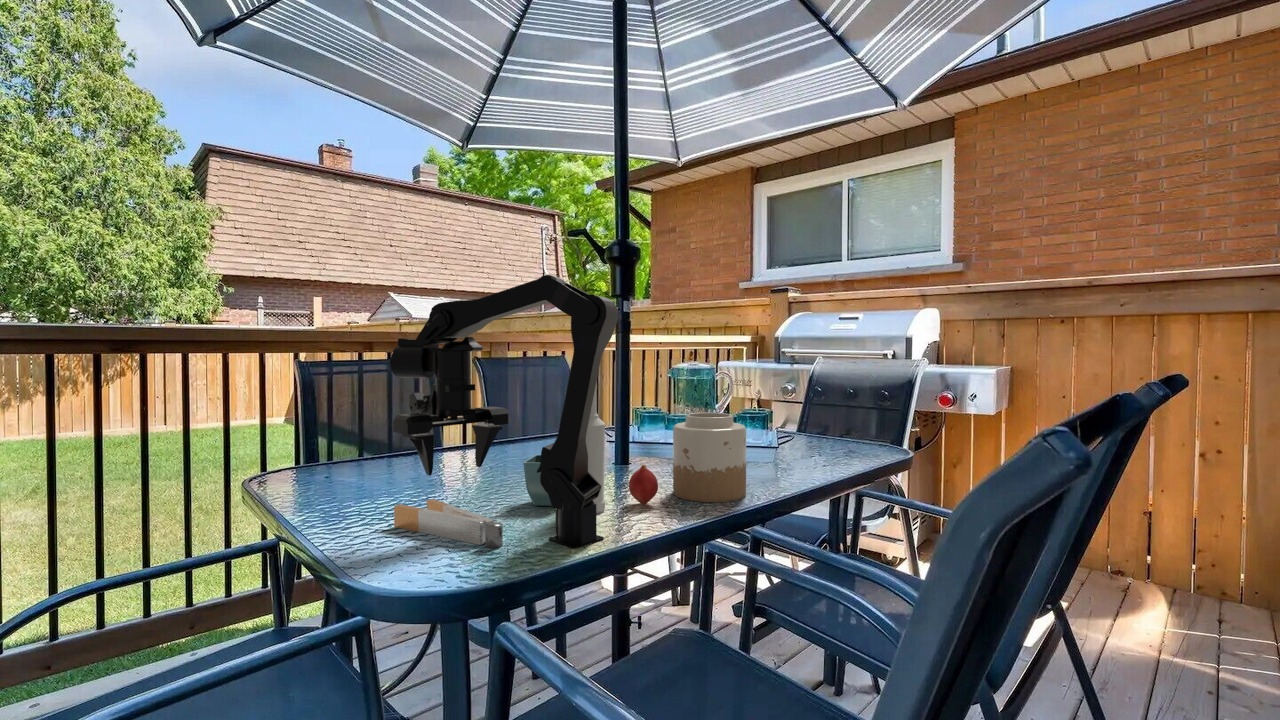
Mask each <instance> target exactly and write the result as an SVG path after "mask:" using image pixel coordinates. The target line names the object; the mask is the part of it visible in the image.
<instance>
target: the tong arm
mask: <svg viewBox="0 0 1280 720" xmlns="http://www.w3.org/2000/svg"><path fill="white" fill-rule="evenodd" d="M393 512H394V514H393V517H394V518H393V519H394V523H393V524H394V525H393V526H394V528H398V529H399V528H400V529H403V530H408V531H413V532H419V533H422V534H428V535H432V536H438V537H441V538H446V539H449V540H450V539H452V540H455V541H459V542H465V543H469V544H473V545H479V546H481V545H484V544H486V538H485V525H486V522H485V520H481V519H476V518H471V517H465V516H460V515H455V514H449V513H444V512H439V511H433V510H428V509H427V508H423V507H417V506H412V505H406V504H401V503H400V504H399V503H398V504H396V505H394V506H393Z"/></svg>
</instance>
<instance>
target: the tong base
mask: <svg viewBox="0 0 1280 720" xmlns="http://www.w3.org/2000/svg"><path fill="white" fill-rule="evenodd" d="M426 509H428V510H433V511H439V512H444V513H449V514H455V515H460V516H465V517H471V518H476V519H481V520H485V522H486V525H485V538H486V543H485V548H486V549H488V550H491V549H492V550H493V549H494V550H495V549H499V548H502V547H503V545H504V541H503V539H504V538H503V537H504V536H503V535H504V533H503V531H504V529H503V527H504V526H503V524H504V523H502V522H499V521H498V522H497V521H495V520H494V519H492V518H489V517H487V516H483V515H481V514H478V513H474V512H472V511H468V510H465V509H464V508H460V507H458V506H454V505H451V504H449V503H445V502H443V501H440V500H439V499H434V498H431V499H426Z"/></svg>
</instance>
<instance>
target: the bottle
mask: <svg viewBox="0 0 1280 720" xmlns="http://www.w3.org/2000/svg"><path fill="white" fill-rule="evenodd" d="M597 382H598V381H597ZM597 382H596V387H595V392H594V397H593V402H592V407H591V413H590V418H589V423H588V428H587V433H586V446H587V452H588V472H589V473H590V474H591V475H592V476H593V477H594V478H595V479H596V481H597V482H598V483H599V484H600V485H601V490H600V493H599V496H598V497H597V498H595V499H594V500H592V501H594V504H596V515H597V514H602V513H604V512H605V509H606V500H605V452H606V451H605V448H606V447H605V446H606V444H605V442H606V441H605V439H606V424H605V422H604V421H603V420H602V419H601V418H599V414H598V413H597V390H598V383H597Z"/></svg>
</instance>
